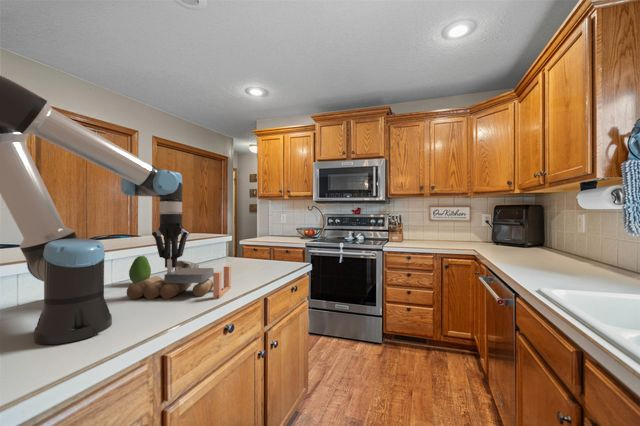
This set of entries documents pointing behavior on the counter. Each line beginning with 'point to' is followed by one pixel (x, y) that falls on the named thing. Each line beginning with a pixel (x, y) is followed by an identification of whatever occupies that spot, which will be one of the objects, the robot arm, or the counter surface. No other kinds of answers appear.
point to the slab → (189, 275)
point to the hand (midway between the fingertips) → (170, 276)
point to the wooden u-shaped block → (217, 282)
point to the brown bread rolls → (155, 288)
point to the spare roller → (202, 287)
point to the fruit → (140, 270)
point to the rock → (186, 265)
